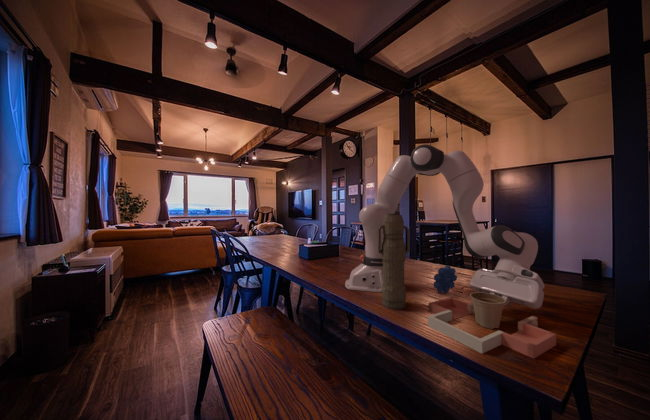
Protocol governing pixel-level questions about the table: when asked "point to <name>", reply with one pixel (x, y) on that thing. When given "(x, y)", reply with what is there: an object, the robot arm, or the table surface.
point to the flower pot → (487, 309)
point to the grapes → (445, 279)
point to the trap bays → (526, 343)
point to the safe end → (464, 333)
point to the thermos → (393, 260)
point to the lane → (530, 321)
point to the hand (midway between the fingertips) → (494, 308)
